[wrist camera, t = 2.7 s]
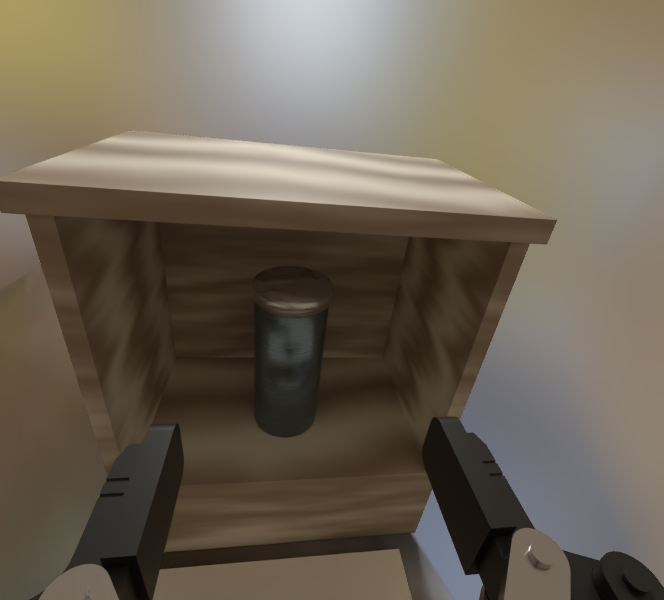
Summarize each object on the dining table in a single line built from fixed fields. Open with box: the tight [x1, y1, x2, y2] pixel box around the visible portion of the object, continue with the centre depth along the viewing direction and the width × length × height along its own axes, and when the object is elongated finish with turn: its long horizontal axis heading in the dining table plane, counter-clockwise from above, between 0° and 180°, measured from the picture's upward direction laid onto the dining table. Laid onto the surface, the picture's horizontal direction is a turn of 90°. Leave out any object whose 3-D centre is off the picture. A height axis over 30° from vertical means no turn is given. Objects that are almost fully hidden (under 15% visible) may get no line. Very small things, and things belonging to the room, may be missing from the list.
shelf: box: [0, 130, 557, 552], centre depth 28 cm, size 15×23×27 cm, turn 97°
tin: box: [253, 266, 333, 438], centre depth 27 cm, size 5×5×12 cm
